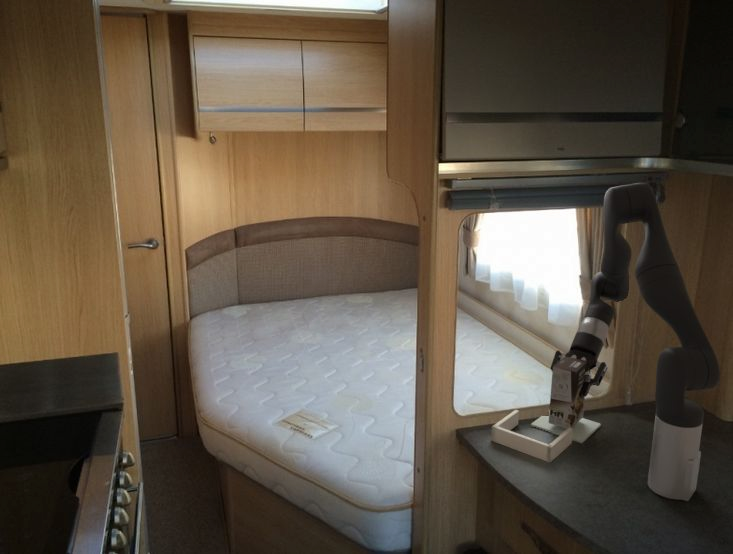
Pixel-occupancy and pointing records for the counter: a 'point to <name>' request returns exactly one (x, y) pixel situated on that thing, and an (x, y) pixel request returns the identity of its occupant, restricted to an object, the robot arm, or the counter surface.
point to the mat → (579, 430)
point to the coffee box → (567, 392)
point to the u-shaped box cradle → (528, 439)
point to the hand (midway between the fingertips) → (567, 392)
